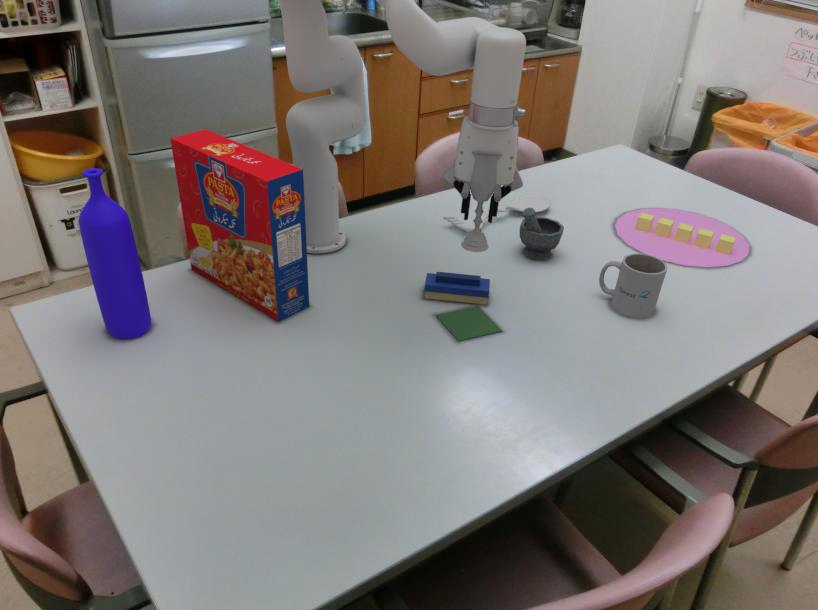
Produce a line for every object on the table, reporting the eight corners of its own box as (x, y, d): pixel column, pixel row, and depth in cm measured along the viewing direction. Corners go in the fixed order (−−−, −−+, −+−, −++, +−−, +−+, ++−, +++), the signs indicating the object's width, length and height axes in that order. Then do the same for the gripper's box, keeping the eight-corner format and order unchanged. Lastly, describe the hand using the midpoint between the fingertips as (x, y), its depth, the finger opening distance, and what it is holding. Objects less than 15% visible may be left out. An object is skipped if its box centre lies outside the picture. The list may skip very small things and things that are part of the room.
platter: (734, 281, 152) (739, 268, 150) (596, 241, 165) (599, 228, 163) (760, 231, 174) (765, 218, 172) (637, 198, 187) (640, 187, 185)
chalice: (453, 236, 128) (463, 140, 117) (489, 236, 129) (503, 141, 118) (459, 255, 122) (470, 155, 111) (496, 255, 123) (511, 156, 112)
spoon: (440, 227, 167) (442, 214, 165) (531, 199, 183) (533, 186, 181) (465, 241, 162) (467, 228, 159) (556, 211, 178) (559, 198, 176)
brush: (423, 299, 140) (425, 278, 137) (426, 286, 144) (427, 266, 141) (487, 305, 139) (490, 285, 136) (487, 293, 143) (490, 272, 140)
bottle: (162, 321, 129) (131, 166, 111) (134, 345, 123) (96, 184, 105) (125, 312, 131) (88, 158, 113) (96, 334, 125) (52, 175, 107)
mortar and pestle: (538, 240, 164) (547, 192, 157) (566, 256, 158) (577, 207, 151) (503, 251, 159) (510, 202, 151) (530, 268, 153) (539, 218, 145)
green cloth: (458, 341, 129) (458, 340, 129) (435, 315, 135) (436, 314, 135) (501, 331, 132) (501, 330, 132) (478, 306, 139) (478, 306, 139)
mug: (661, 308, 142) (675, 265, 135) (639, 323, 137) (653, 279, 131) (610, 284, 148) (621, 242, 142) (588, 298, 143) (598, 255, 137)
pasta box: (191, 270, 145) (170, 138, 128) (222, 257, 150) (206, 129, 133) (278, 322, 131) (266, 181, 114) (309, 306, 136) (303, 169, 119)
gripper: (542, 111, 113) (524, 214, 125) (442, 101, 114) (433, 204, 126) (544, 126, 107) (524, 232, 119) (438, 115, 109) (429, 222, 120)
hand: (478, 217), depth 122 cm, fingers closed on chalice, 3 cm apart
